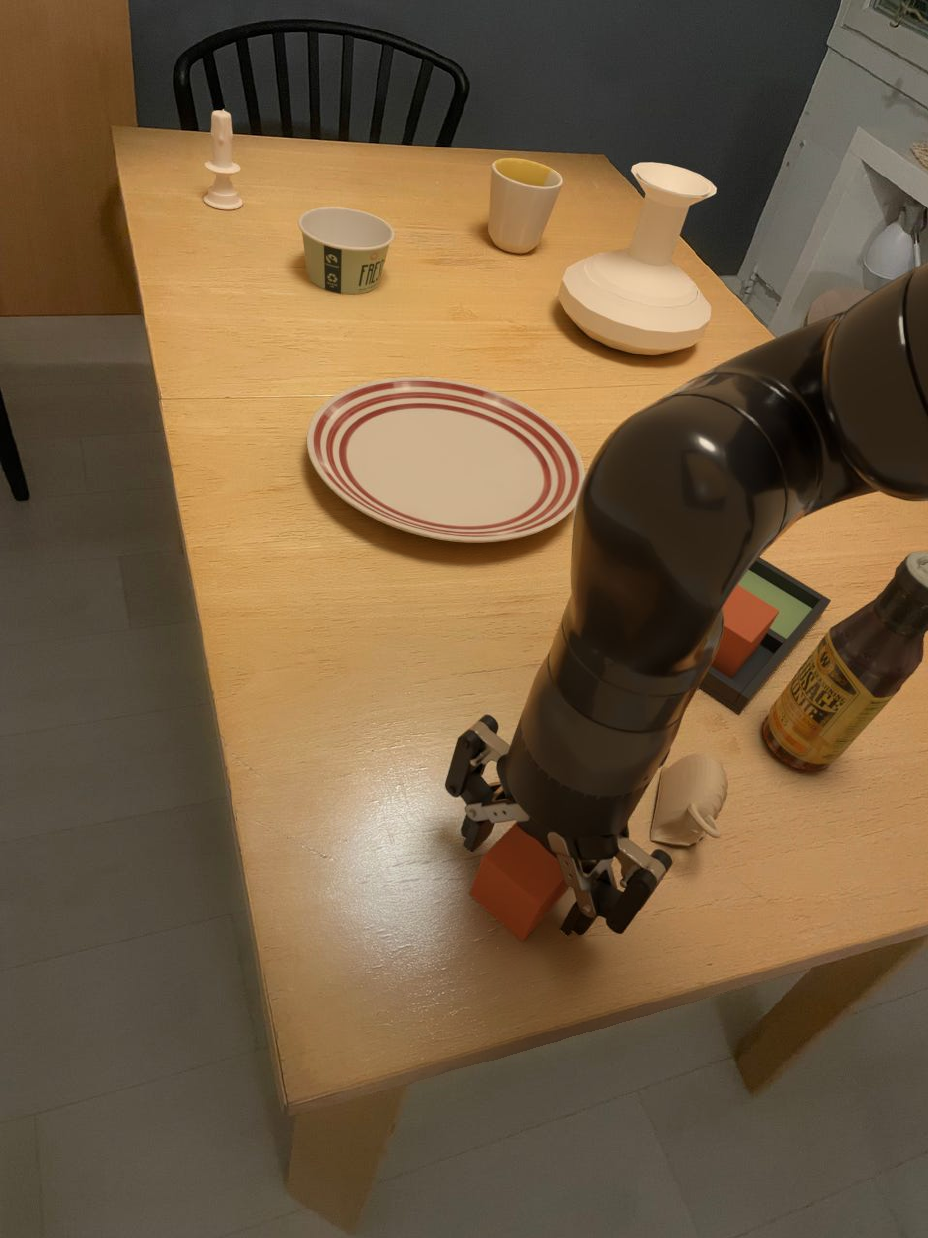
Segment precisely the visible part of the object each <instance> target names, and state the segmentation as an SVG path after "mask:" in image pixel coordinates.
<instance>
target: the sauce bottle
mask: <svg viewBox="0 0 928 1238" xmlns="http://www.w3.org/2000/svg"><path fill="white" fill-rule="evenodd" d="M927 632H928V551H926V550H917V551H913V552H910V553H909V554H907V555H906V557H904V558H903V560H901V562H900V563H899V564H898V566H897V567H896V569H895V572H894V576H893V577H892V578H891V580H890V581H889V582H888V584H886V586H885V588H884V589H883V590H882V591H881V592H880V593H878V595H877V596H876V598H875V599H873V600H871V601H870V602H868V603H867V604H865V605H864V606H861V608H859V609H858V610H856V611H854V612H853V613H852V614H850V615H849V616H847V617H845V618H844V619H842V620H841V621H839V622H838V623H836V624H834V625H833V626H831V627H830V628H829V629H828V631H827V632H826V633H825V634H824V636H823V637H822V638H821V640H820V641H819V643H818V644H817V645H816V647H815V648H814V649H813V651H811V653H810V655H808V657H807V658H806V660H805V662H804V663H803V664H802V665H801V666H800V668H799V669H798V670H797V671H796V673H795V674H794V676H793V677H792V679H791V680H790V681H789V683H788V684H787V685H786V687H785V688H784V689H783V690H782V692H781V693H780V695H779V696H778V698H777V699H776V700H775V701H774V702H773V704H772V705H771V707H770V709H769V712H768V713H767V715H766V717H765V719H764V723H763V733H762V735H763V737H764V741H765V743H766V744H767V746H768V748H769V749H770V750H771V752H772V753H773V754H774V755H775V756H777V758H778V759H779V760H780V761H781V762H782V763H784V764H785V765H787V766H788V767H791V768H796V769H800V770H801V771H802V770H803V771H807V772H815V771H819V770H822V769H825V768H826V767H828V766H829V765H831V764H832V763H834V762H835V761H837V759H839V758H840V757H841V756H842V755H843V753H845V751H846V750H847V749H848V748H849V747H850V746H851V745H852V744H853V742H854V741H855V740H856V739H857V738H859V736H860V735H861V734H862V733H863V732H864V731H865V730H866V728H867V727H868V726H869V725H870V724H871V722H872V721H873V720H875V718H877V716H878V715H879V714H880V713H881V712H882V711H883V709H884V708H885V707H886V706H887V705H888V704H889V703H890V702H891V701H892V699H893V698H895V696H896V695H897V694H898V692H899V691H900V690H901V688H902V686H903V685H904V684H905V682H907V680H908V679H909V678H910V677H911V676H912V675H914V673H915V672H916V671H917V669H918V667H919V666H920V664H921V663H922V662H923V658H924V651H925V650H924V647H925V646H924V645H925V641H924V640H925V635H926V633H927Z"/></svg>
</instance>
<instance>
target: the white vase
mask: <svg viewBox="0 0 928 1238" xmlns="http://www.w3.org/2000/svg"><path fill="white" fill-rule="evenodd" d="M630 172H631V174H632V175H633V176H634V178H635V180H636V181H637V182H638V184H639V185H640V188H641V189H642V190H643V192H644V193H645V195H644V197H643V200H642V205H641V208H640V211H639V214H638V217H637V220H636V224H635V227H634V230H633V234H632V237H631V239H630V244H629V246H628V247H625V248H620V249H615V250H610V251H604V252H600V253H596V254H594V255H592V256H589V257H586V258H583V259H581V260H579V261H577V262H575V263H573V264H570V265H569V266H568V267H566V269H565V272H564V274H563V276H562V279H561V282H560V286H559V289H558V293H557V299H559V303H560V304H561V306H562V308H563V310H564V312H565V313H566V314H567V316H568V317H569V318H570V319H571V320H572V322H573V323H574V324H575V325H576V327H577V328H578V329H580V330H581V331H582V332H583V333H585V334H586V336H588V337H589V338H590V339H592V340H594V341H596V342H599V343H601V344H603V345H604V346H606V347H609V348H611V349H615V350H619V351H622V352H625V353H629V354H632V355H648V356H657V355H663V354H670V353H673V352H676V351H680V350H684V349H688V348H691V347H693V346H694V345H695V344H696V343H698V342H699V341H700V340H701V339H702V338H704V336H705V334H706V331H707V329H708V326H709V324H710V321H711V317H712V309H713V308H712V307H713V306H712V305H711V304H710V303H709V301H708V300H707V299H706V297H705V296H704V294H703V293H702V291H701V290H700V288H699V287H698V286H697V283H696V282H695V281H694V279H692V278H691V277H690V276H689V275H688V274H687V273H686V272H685V271H683V270H682V269H681V268H680V267H679V266H678V265H677V264H676V263H675V262H674V261H673V260H672V259H673V256H674V253H675V250H676V247H677V245H678V241H679V239H680V236H681V233H682V229H683V226H684V223H685V221H686V219H687V215H688V212H689V209H690V206H693V205H694V204H697V203H700V202H702V201H704V200H706V199H708V198H710V197H712V196H714V195H716V194H717V190H718V188H717V186H716V185H715V184H714V183H713V181H711V180H709V179H707V178H706V177H705V176H702V175H701V174H699V173H697V172H695V171H691V170H689V169H687V168H684V167H680V166H677V165H672V164H668V163H661V162H652V161H651V162H638V163H636V164H634V165H632V167H631V170H630Z"/></svg>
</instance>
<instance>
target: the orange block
mask: <svg viewBox="0 0 928 1238" xmlns="http://www.w3.org/2000/svg"><path fill="white" fill-rule="evenodd" d="M517 823H518V822H517V821H516V822H514V824H513V825H511V827H510V828H508V830H507V831H506V832H504V834H503V835H502V836H501V837H500V838H499V839H498V840H496V842H495V843H494V844H493V845H492V846H491V847H490V848H489V849H488V850H487V851H486V852H485V853H484V854H483V855H482V858H481V861H480V864H479V866H478V869H477V871H476V874H475V877H474V880H473V883H472V885H471V888H470V890H469V893H468V895H469V896H470V897H471V898H472V899H474V901H476V902H477V903H478V904H479V905H480V906H481V907H482V908H484V909H485V910H486V911H487V912H489V914H490V915H491V916H493V917H494V918H495V919H496V920H497V921H498V922H500V924H502V925H503V926H504V927H505V928H506V929H508V931H510V932H511V933H512V934H513V935H514V936H515V937H516V938H518V939H519V940H520V941H521V942H524V941H525V940H526V939H527V937H528V936H529V935H530V934H531V933H532V932H533V930H534V929H535V928H536V927H537V926H538V925H539V923H540V922H541V921H542V920H543V919H544V918H545V917H546V915H547V914H548V913H549V912H550V911H551V909H552V908H554V906H555V905H556V904H557V903H558V901H559V900H560V899H561V898H562V897H563V895H564V894H565V893H566V892H567V891H568V890H569V888H570V887H568V886H566V885H565V882H564V879H563V876H562V872H561V869H560V866H559V862H558V859H557V858H555V857H554V856H553V855H552V854H551V853H549V852H548V851H547V850H546V849H545V848H544V847H543V846H542V845H541V844H540V842H539V841H538V840H536V839H535V838H533V837H531V836H530V835H528V834H526V833H525V832H524V831H523V830H521V829H520V828H519V827H518V826H517Z"/></svg>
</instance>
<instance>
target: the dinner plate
mask: <svg viewBox="0 0 928 1238" xmlns="http://www.w3.org/2000/svg"><path fill="white" fill-rule="evenodd" d="M306 447H307V453H308V456H309V459H310V462H311V465H312V466H313V468H314V470H315V471H316V473H317V474H318V477H319V478H320V479H321V480H322V481H323V482H324V484H325V485H326V486H327V487H328V488H329V489H330V490H331V491H332V492H334V493H335V495H337V496H338V497H339V498H340V499H341V500H343V501H344V502H346V503H347V504H348V505H350V506H352V507H353V508H354V509H356V510H358V511H359V512H361V513H363V514H364V515H366V516H368V517H370V518H371V519H374V520H376V521H379V522H381V523H383V524H385V525H387V526H389V527H392V528H395V529H397V530H399V531H400V530H401V531H403V532H406V533H410V534H413V535H417V536H421V537H425V538H431V539H435V540H440V541H448V542H456V543H457V542H458V543H470V544H471V543H472V544H473V543H475V544H477V543H478V544H482V543H495V542H504V541H510V540H516V539H521V538H524V537H528V536H531V535H534V534H537V533H539V532H542V531H544V530H546V529H548V528H551V527H553V526H555V525H556V524H557V523H559V522H560V521H562V520H563V519H565V517H567V516H568V515H569V514H570V513H571V512H572V511H573V510H574V509H575V506H576V501H577V497H578V494H579V491H580V487H581V485H582V482H583V480H584V477H585V475H586V472H585V471H586V470H585V466H584V461H583V460H582V457H581V455H580V453H579V450H578V448H577V447H576V446H575V444H574V443H573V441H572V440H571V439H570V437H569V436H568V435H567V434H566V433H565V432H564V431H563V429H561V428H560V427H558V425H556V424H555V423H554V422H553V421H551V420H550V419H549V418H548V417H547V416H545V415H543V414H542V413H541V412H539V411H538V410H536V409H535V408H533V407H531V406H529V405H528V404H526V403H525V402H523V401H521V400H519V399H516V398H514V397H512V396H509V395H507V394H505V393H502V392H499V391H496V390H494V389H490V388H487V387H485V386H481V385H477V384H473V383H468V382H464V381H460V380H459V381H458V380H454V379H448V378H439V377H431V376H430V377H429V376H427V377H426V376H402V377H401V376H399V377H390V378H382V379H376V380H371V381H367V382H364V383H360V384H357V385H354V386H351V387H349V388H346V389H344V390H342V391H340V392H339V393H336V394H334V395H333V396H332V397H331V398H329V399H328V400H327V401H325V402H324V403H322V405H321V406H320V407H319V408H318V410H316V412H315V414H314V415H313V417H312V418H311V420H310V422H309V425H308V429H307V433H306Z"/></svg>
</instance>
